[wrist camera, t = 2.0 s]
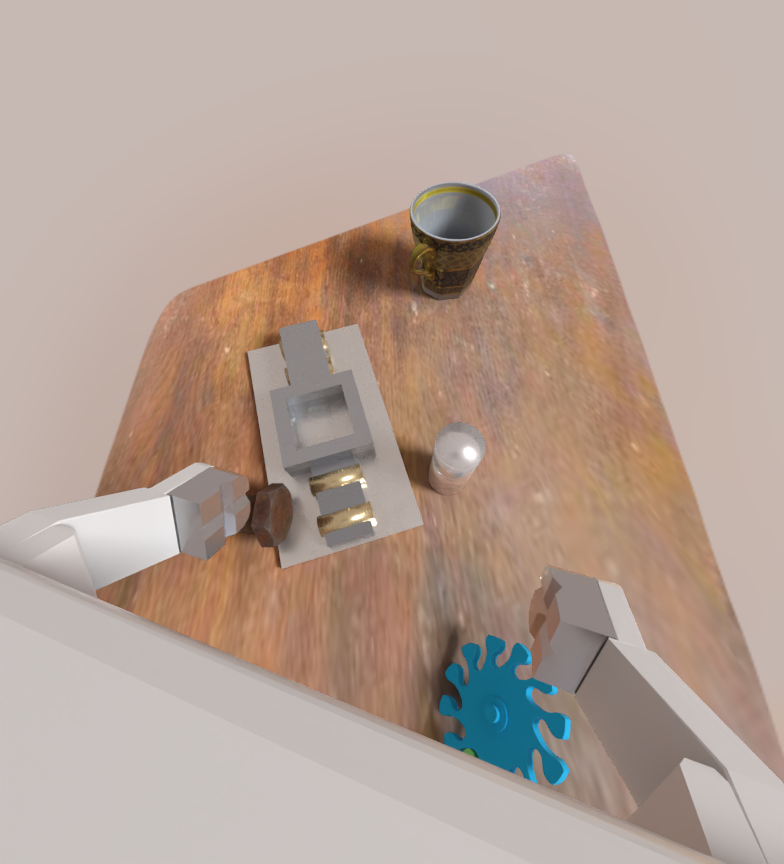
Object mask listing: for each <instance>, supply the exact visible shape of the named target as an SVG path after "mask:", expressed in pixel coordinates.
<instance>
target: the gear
mask: <svg viewBox="0 0 784 864" xmlns="http://www.w3.org/2000/svg"><path fill="white" fill-rule="evenodd" d="M486 647H487V656H486V660H485V663H484V665H483V668H482V669H481V670H479V669H478V661H479V658H480V656H481V648H480V646H479V645H477V644H474V643H469V644H466V645H464V646H463V647H462V653H463V655H464V657H465V658H466V661H467V664H468V668H469V682H468V684H467V686H466V685H465V683H464V671H463V668H462V667H461V665H459V664H455V663H453V664H451V665H450V666H449V667H448V669H447V670H446V672H445V675H446V678H447V679H448V680H449V681H451V682H452V683H453V684H454V685H455V686H456V688H457V689H458V691H459V694H460V696H461V699H462V708H461V710H459V708H458V706H457V703H456V700H455V699H454V698H453V697H452V696H448V695H443V696H442V698H441V701H440V706H439V712H440V713H441V714H442V715H445V716H454V717H455V718H457V719H458V720H459V721H460V722H461V724H462V725H463V726H464V728H465V738H464V739H462V738H461V737H460V736H459V735H458V734H457V733H450V732H448V733H446V734H445V735H444V744H445V745H447V746H450V747H452V748H454V749H457V750H459V751H461V752H464V753H466V754H469V755H471V756H473V757H476V758H478V759H480V760H483V761H485V762H488V763H490V764H492V765H495V766H497V767H499V768H502V769H504V770H507V771H509V772H511V773H515V771H516V769H517V767H519V768H520V769H521V771H522V773H523V776H524V778H526V779H528V780H530V781H533V782H535V783H537V784H538V782H537V780H536V777H535V773H534V768H533V757H532V756H533V751H534V750H535V749H537V750H538V751H539V753H540V754H541V757H542V764H543V772H544V775H545V777H546V779H547V780H548V781H549V783H551V784H552V785H556V784H560V783H562V782H563V781H564V780H565V778H566V777H567V775H568V773H569V769H568V766H567V765H566V763H565V762H564V761H563V760H562V759H561V758H559V757H558V756H556V755H555V754H554V753H553V752H552V751H551V750H550V749H549V748H548V746H547V745H546V743H545V742H544V740H543V738H542V736H541V734H540V731H539V728H538V724H539V721H540V720H541V719H543V720H544V721H545V722H546V724H547V726H548V728H549V730H550V731H551V733H552V734H553V735H554V736H555V737H556V738H558V739H564V740H568V738H569V735H570V719H569V717H567V716H566V715H564V714H561V713H556V712H555V713H548V712H546V711H544V710H543V709H541V708H540V707H539V706H538V705H536V704H535V703H534V701H533V699H532V690H533V689H534V688H537V689H538V690H540V691H541V692H543V693H545V694H549V695H555V694H556V693H557V687H554V686H552V685H549V684H546V683H544V682H541V681H539V680H536V679H534V678H531V679H528V680H519V679H518V678H517V676H516V668H517V666H518V665H529V664H531V663H532V659H531V652H530V651H529V650H528V649H527V648H526V647H525V646H524V645H523V644H520V643H516V644H515V645H514V646H513V648H512V653H511V656H510V658H509V660H508V661H507V662H506V663H505V664H504V665H503V666H501V667H500V668H498V667H497V664H496V659H497V657H498V656H499V655H500V654H501V653H503V652H504V650H505V647H506V643H505V641H503V640H502V639H499V638H497V637H494V636H491V635H488V636H487V638H486Z"/></svg>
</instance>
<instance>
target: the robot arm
mask: <svg viewBox="0 0 784 864" xmlns="http://www.w3.org/2000/svg"><path fill="white" fill-rule="evenodd" d="M248 490H249V480H248V478H246V477H245V476H244V475H240V474H237V473H234V472H231V471H228V470H225V469H222V468H219V467H214V466H212V465H208V464H205V463H202V462H200V463H194V464H192V465H190V466H189V467H187V468H185V469H183V470H181V471H180V472H178V473H176V474H174V475H173V476H171V477H169V478H167V479H165V480H164V481H162V482H160V483H158V484H157V485H155V486H153V487H151V488H150V489H148V488H139V489H134V490H129V491H125V492H120V493H115V494H110V495H105V496H101V497H96V498H91V499H86V500H82V501H77V502H72V503H67V504H62V505H57V506H52V507H48V508H43V509H38V510H33V511H30V512H27V513H25V514H23V515H21V516H19V517H17V518H15V519H13V520H11V521H8V522H6V523H4V524H2V525H0V864H784V783H783V782H782V781H781V780H780V779H779V778H778V777H777V776H776V775H775V774H774V773H773V772H772V771H771V770H770V769H769V768H768V767H767V766H766V765H765V764H764V763H763V762H762V761H761V760H760V759H759V758H758V757H757V756H756V755H755V754H754V753H753V752H752V751H751V750H750V749H749V748H748V747H747V746H746V745H745V744H744V743H743V742H742V741H741V740H740V739H739V738H738V737H737V736H736V735H735V734H734V732H733V731H732V730H731V729H730V728H729V727H728V726H727V725H726V724H725V723H724V722H723V721H722V720H721V719H720V718H719V717H718V716H717V715H716V714H715V713H714V712H713V711H712V710H711V709H710V708H709V707H708V706H707V705H706V704H705V703H704V702H703V701H702V700H701V699H700V698H699V697H698V696H697V695H696V694H695V693H694V692H693V691H692V690H691V689H690V688H689V687H688V686H687V685H686V684H685V683H684V682H683V681H682V680H681V679H680V678H679V677H678V676H677V675H676V674H675V672H674V671H673V670H672V669H671V668H670V667H669V666H668V665H667V664H666V663H665V662H664V661H663V660H662V659H661V658H660V657H659V656H658V655H657V654H656V653H655V652H652V651H649V650H647V649H646V647H645V644H644V642H643V639H642V637H641V634H640V632H639V629H638V627H637V624H636V622H635V620H634V617H633V615H632V612H631V610H630V607H629V605H628V602H627V600H626V597H625V595H624V592H623V590H622V588H621V587H620V586H619V585H618V584H617V583H613V582H609V581H606V580H602V579H598V578H595V577H594V578H592V577H589V576H585V575H582V574H578V573H575V572H571V571H568V570H564V569H561V568H557V567H554V566H550V565H547V566H546V567H545V569H544V571H543V573H542V575H541V582H542V587H541V588H539V589H537V590H535V592H534V595H533V598H532V601H531V606H530V611H529V632H530V633H531V635H532V636H533V637H534V639H535V641H534V643H533V645H532V648H531V659H532V671H533V678H534V679H536V680H539V681H541V682H544V683H546V684H549V685H552V686H554V687H557V688H559V689H562V690H564V691H567V692H569V693H572V694H575V696H574V697H575V698H576V700H577V702H578V704H579V705H580V707H581V709H582V711H583V712H584V714H585V716H586V717H587V719H588V721H589V723H590V724H591V726H592V728H593V729H594V731H595V733H596V735H597V736H598V738H599V740H600V741H601V743H602V745H603V747H604V748H605V750H606V752H607V753H608V755H609V757H610V759H611V760H612V762H613V764H614V765H615V767H616V769H617V771H618V772H619V774H620V776H621V778H622V779H623V781H624V783H625V784H626V786H627V788H628V790H629V791H630V793H631V795H632V796H633V798H634V800H635V802H636V803H637V805H638V807H639V808H638V809H637V810H636V811H635V812H634V813H633V814H632V815H631V817H630V818H629V819H628V820H627V821H625V820H623V819H621V818H618V817H616V816H614V815H611V814H609V813H606V812H604V811H602V810H599V809H597V808H595V807H592V806H590V805H587V804H585V803H583V802H580V801H578V800H576V799H573V798H571V797H568V796H566V795H564V794H561V793H559V792H557V791H554V790H552V789H549V788H547V787H545V786H542V785H540V784H537V783H535V782H533V781H530V780H528V779H526V778H523V777H521V776H518V775H516V774H514V773H511V772H509V771H507V770H504V769H502V768H499V767H497V766H495V765H492V764H490V763H488V762H485V761H483V760H480V759H478V758H476V757H473V756H471V755H469V754H466V753H464V752H461V751H459V750H457V749H454V748H452V747H450V746H447V745H445V744H442V743H440V742H438V741H435V740H433V739H430V738H428V737H426V736H423V735H421V734H419V733H416V732H414V731H411V730H409V729H407V728H404V727H402V726H399V725H397V724H395V723H392V722H390V721H388V720H385V719H383V718H380V717H378V716H376V715H373V714H371V713H369V712H366V711H364V710H361V709H359V708H357V707H354V706H352V705H349V704H347V703H345V702H342V701H340V700H338V699H335V698H333V697H330V696H328V695H326V694H323V693H321V692H319V691H316V690H314V689H311V688H309V687H307V686H304V685H302V684H299V683H297V682H295V681H292V680H290V679H288V678H285V677H283V676H280V675H278V674H276V673H273V672H271V671H269V670H266V669H264V668H261V667H259V666H257V665H254V664H252V663H250V662H247V661H245V660H242V659H240V658H238V657H235V656H233V655H231V654H228V653H226V652H223V651H221V650H219V649H216V648H214V647H212V646H209V645H207V644H204V643H202V642H200V641H197V640H195V639H193V638H190V637H188V636H185V635H183V634H181V633H178V632H176V631H174V630H171V629H169V628H166V627H164V626H162V625H159V624H157V623H155V622H152V621H150V620H147V619H145V618H143V617H140V616H138V615H136V614H133V613H131V612H128V611H126V610H124V609H121V608H119V607H117V606H114V605H112V604H109V603H107V602H105V601H102V600H100V599H98V597H97V594H96V591H95V590H97V589H100V588H102V587H104V586H106V585H109V584H111V583H113V582H116V581H118V580H120V579H122V578H125V577H127V576H129V575H131V574H134V573H136V572H138V571H141V570H143V569H145V568H147V567H150V566H152V565H154V564H157V563H159V562H161V561H163V560H166V559H168V558H170V557H172V556H175V555H177V554H179V552H182V553H185V554H188V555H191V556H194V557H197V558H201V559H204V560H208V559H209V558H210V557H212V556H213V555H214V554H215V553H216V552H217V551H218V550H219V549H220V548H221V547H222V546H224V545H225V541H226V537H228V536H231V535H234V534H236V533H238V532H239V531H240V530H241V529H242V528H243V527H244V525H245V523H246V521H247V520H248V518H249V514H250V501H249V499H248V498H247V496H246V495H245V494H246V493H247V491H248Z"/></svg>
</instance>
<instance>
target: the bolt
mask: <svg viewBox="0 0 784 864" xmlns="http://www.w3.org/2000/svg"><path fill="white" fill-rule="evenodd" d="M247 498H248V499H249V501H250V514H249V518H248V520H247V521H246V523H245V525H244V527H243V528H242V529H241V530H240V531H239V532H246V533H255V535H256V537H257V539H258V541H259V543H260V545H261V547H275V546H277V545H279V544H280V543H282V542H283V541H284V540H285V539H286V537H287V535H288V532H289V530H290V527H291V524H292V519H293V505H292V496H291V493H290V491H289V490H288V488H287V487H286V486H285V485H284V484H283V483H271V484H270V485H268V486H267V487H265V488H263V489H262V490H260V491H258V492H257V495H256V496H248V497H247Z"/></svg>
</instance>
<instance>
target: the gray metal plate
mask: <svg viewBox="0 0 784 864" xmlns="http://www.w3.org/2000/svg"><path fill="white" fill-rule="evenodd" d="M279 332H280V337H281V340H280V341H279V344H276V345H272V346H268V347H264V348H260V349H256V350H252V351H248V358H249V364H250V370H251V377H252V383H253V390H254V396H255V402H256V409H257V415H258V421H259V428H260V434H261V441H262V447H263V453H264V460H265V466H266V472H267V479H268V485H270V484H271V483H283V484H284V485H285V486H286V487H287V488H288V490H289V491H290V493H291V496H292V505H293V519H292V524H291V527H290V530H289V532H288V535H287V537H286V539H285V540H284V541H283V542H282V543H280V544H279V545H278V549H279V555H280V561H281V568H282V569H286V568H289V567H292V566H295V565H298V564H302V563H305V562H308V561H311V560H314V559H318V558H321V557H324V556H327V555H330V554H334V553H337V552H340V551H343V550H346V549H350V548H353V547H356V546H359V545H362V544H366V543H369V542H372V541H375V540H378V539H382V538H385V537H388V536H391V535H394V534H398V533H401V532H404V531H407V530H410V529H414V528H417V527H420V526H423V525H424V524H423V521H422V518H421V515H420V512H419V509H418V506H417V503H416V500H415V497H414V493H413V490H412V487H411V484H410V481H409V478H408V475H407V472H406V469H405V466H404V463H403V460H402V457H401V454H400V451H399V448H398V445H397V442H396V439H395V436H394V433H393V430H392V427H391V424H390V421H389V418H388V415H387V412H386V409H385V405H384V402H383V399H382V396H381V393H380V390H379V387H378V384H377V381H376V378H375V375H374V372H373V369H372V366H371V363H370V360H369V357H368V354H367V351H366V348H365V345H364V342H363V339H362V336H361V333H360V330H359V327H358V324H355V325H351V326H347V327H343V328H339V329H335V330H331V331H327V332H323V330H319V327H318V324H317V321H316V320H312V321H307V322H303V323H299V324H295V325H291V326H287V327H283V328H279Z"/></svg>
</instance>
